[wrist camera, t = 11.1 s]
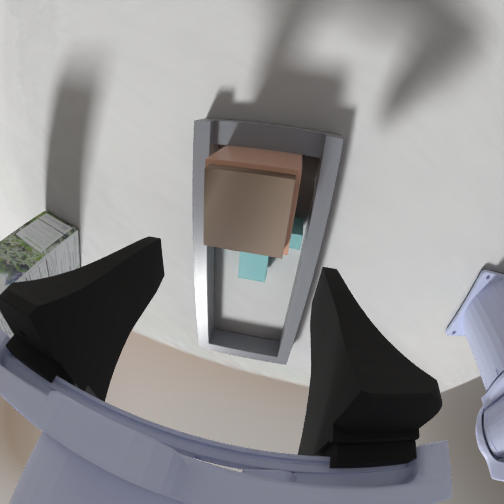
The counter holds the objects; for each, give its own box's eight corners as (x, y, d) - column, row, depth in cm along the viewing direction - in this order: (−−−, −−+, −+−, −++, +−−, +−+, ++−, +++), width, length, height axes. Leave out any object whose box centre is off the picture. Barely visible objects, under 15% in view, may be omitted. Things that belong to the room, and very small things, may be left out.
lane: (339, 135, 15) (343, 139, 13) (287, 348, 26) (285, 364, 24) (205, 118, 16) (194, 120, 14) (204, 332, 27) (198, 347, 25)
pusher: (303, 219, 18) (302, 235, 16) (291, 277, 21) (289, 298, 19) (219, 205, 19) (208, 220, 17) (217, 264, 21) (208, 283, 19)
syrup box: (49, 249, 25) (-30, 328, 13) (45, 207, 22) (-52, 285, 10) (81, 270, 26) (1, 362, 14) (80, 226, 22) (-24, 322, 10)
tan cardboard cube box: (302, 151, 16) (302, 175, 11) (291, 215, 18) (286, 263, 13) (232, 142, 16) (199, 162, 11) (228, 205, 19) (198, 248, 14)
